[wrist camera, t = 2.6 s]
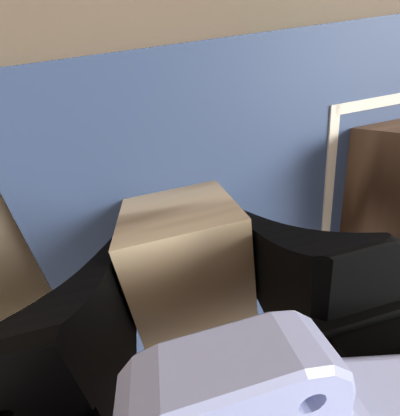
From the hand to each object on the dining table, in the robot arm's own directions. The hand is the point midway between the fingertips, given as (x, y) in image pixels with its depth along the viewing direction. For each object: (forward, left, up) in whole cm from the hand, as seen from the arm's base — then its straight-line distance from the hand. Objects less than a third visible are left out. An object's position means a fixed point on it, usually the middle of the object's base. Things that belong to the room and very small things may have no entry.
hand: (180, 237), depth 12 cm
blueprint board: (0, -7, -2) cm, 7 cm away
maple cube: (0, 0, -1) cm, 1 cm away
